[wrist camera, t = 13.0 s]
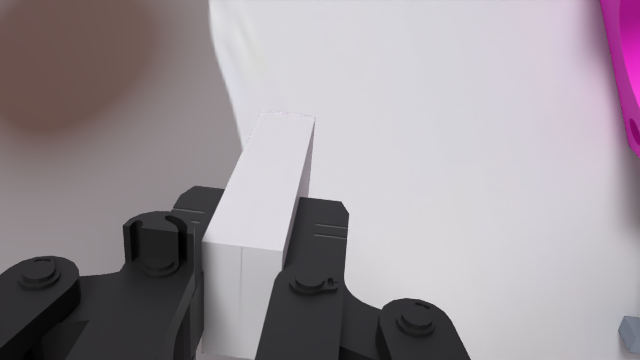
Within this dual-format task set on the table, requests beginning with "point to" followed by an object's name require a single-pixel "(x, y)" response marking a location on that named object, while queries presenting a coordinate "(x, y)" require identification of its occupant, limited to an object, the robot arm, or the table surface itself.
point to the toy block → (625, 60)
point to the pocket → (631, 333)
